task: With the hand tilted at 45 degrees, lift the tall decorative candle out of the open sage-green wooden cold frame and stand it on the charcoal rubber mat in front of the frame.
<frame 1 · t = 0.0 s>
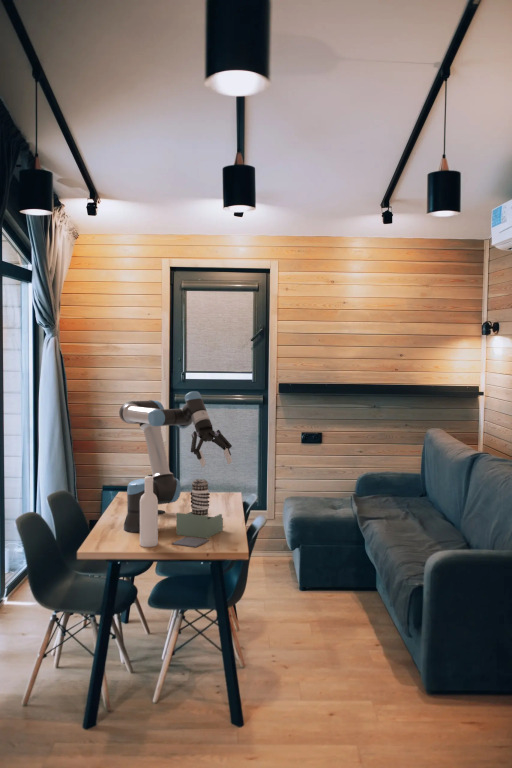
hand: (217, 464, 277), 36 cm above the table, tool tilted 35°, fingers open, 13 cm apart
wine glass: (155, 513, 342), on the table
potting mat: (190, 542, 283), on the table
bottle: (148, 545, 279), on the table
cold frame: (199, 532, 301), on the table
decorative candle: (199, 533, 301), resting in cold frame
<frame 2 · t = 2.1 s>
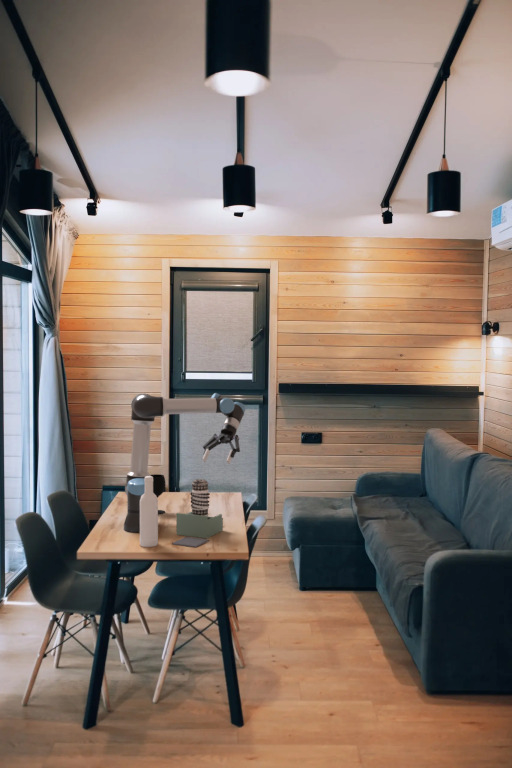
hand: (215, 461, 313), 32 cm above the table, tool tilted 45°, fingers open, 13 cm apart
nothing on the table moved.
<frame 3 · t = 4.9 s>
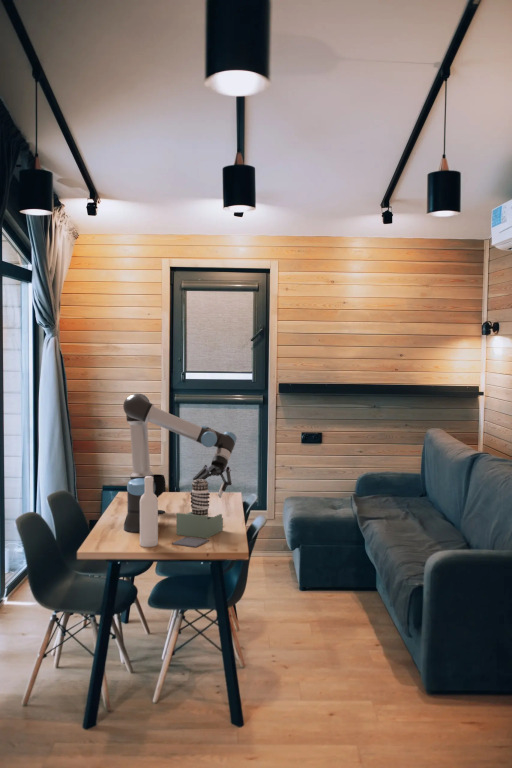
hand: (206, 495, 304), 17 cm above the table, tool tilted 45°, fingers open, 13 cm apart
nothing on the table moved.
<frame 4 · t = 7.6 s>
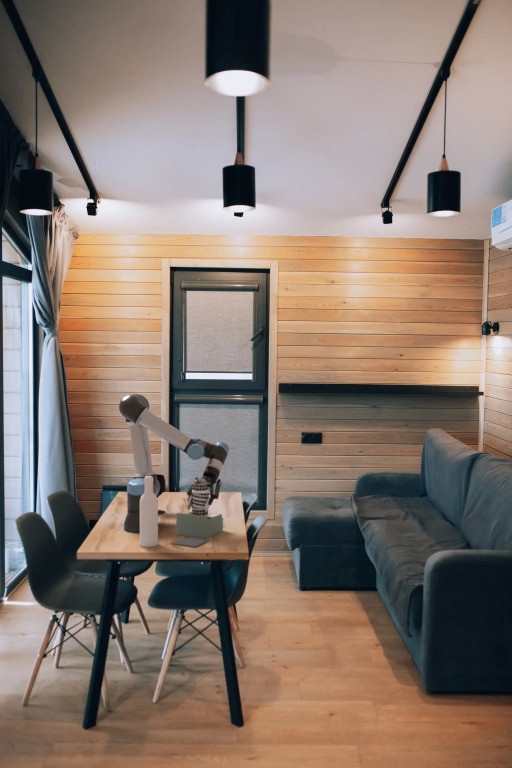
hand: (196, 509, 298), 12 cm above the table, tool tilted 45°, fingers closed on decorative candle, 9 cm apart
decorative candle: (199, 532, 301), resting in cold frame, touching gripper
everything else where it was.
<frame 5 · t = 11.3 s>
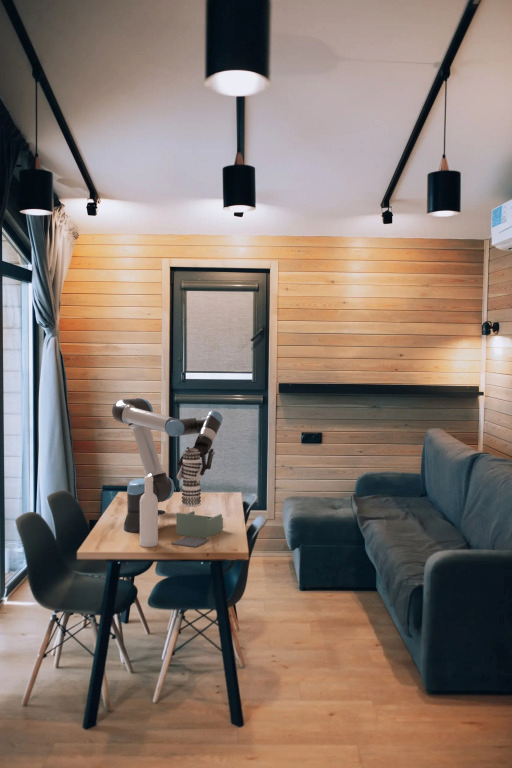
hand: (187, 479, 280), 29 cm above the table, tool tilted 45°, fingers closed on decorative candle, 9 cm apart
decorative candle: (191, 505, 283), point 17 cm above the table, touching gripper
everything else where it was.
when the fingers open (14 cm above the table, at t = 15.0 s): decorative candle drops 1 cm, resting on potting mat.
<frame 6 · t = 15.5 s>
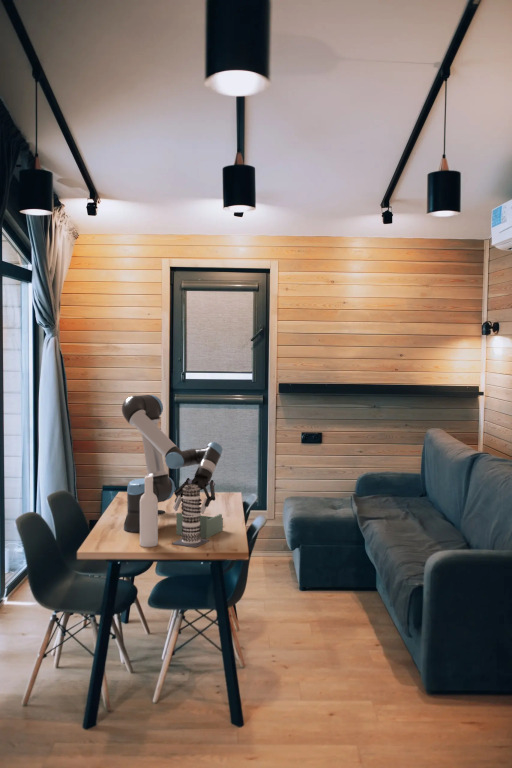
hand: (188, 510, 281), 15 cm above the table, tool tilted 45°, fingers open, 13 cm apart
decorative candle: (191, 541, 283), resting on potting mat
everything else where it was.
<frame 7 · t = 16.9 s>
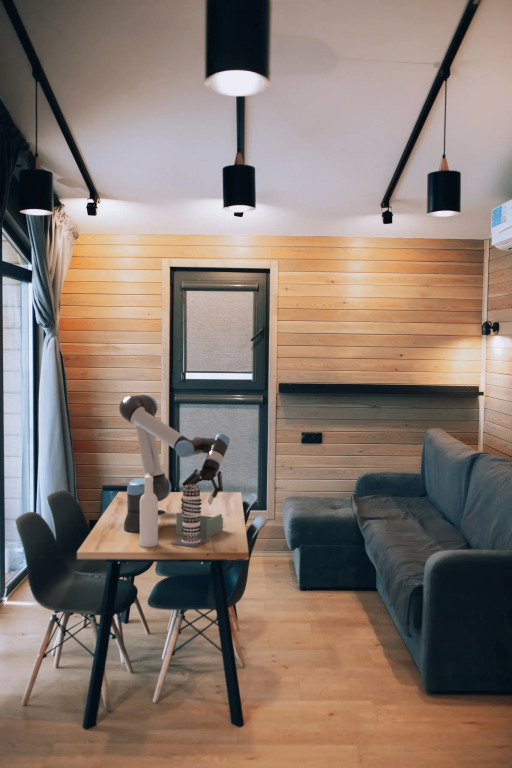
hand: (196, 501, 285), 18 cm above the table, tool tilted 45°, fingers open, 13 cm apart
nothing on the table moved.
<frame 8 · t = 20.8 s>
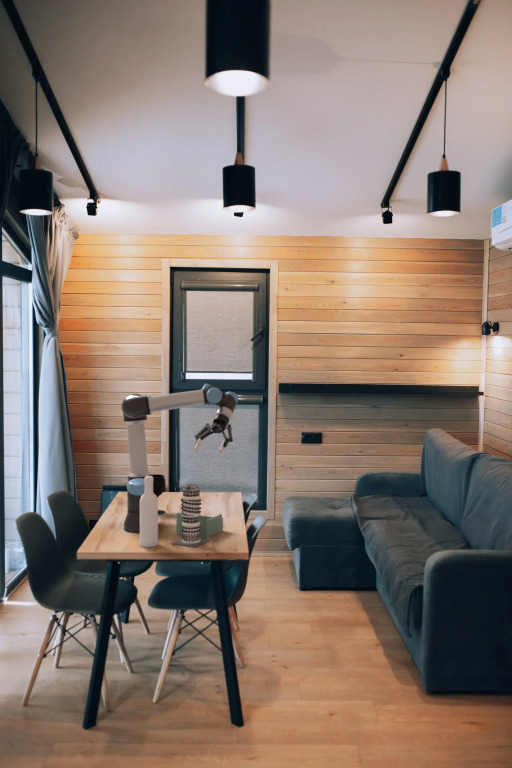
hand: (208, 451, 307), 38 cm above the table, tool tilted 45°, fingers open, 13 cm apart
nothing on the table moved.
at the end: decorative candle inside the target area (0.2 cm from its centre), resting on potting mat; decorative candle tilted 0°; the gripper is holding nothing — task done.
